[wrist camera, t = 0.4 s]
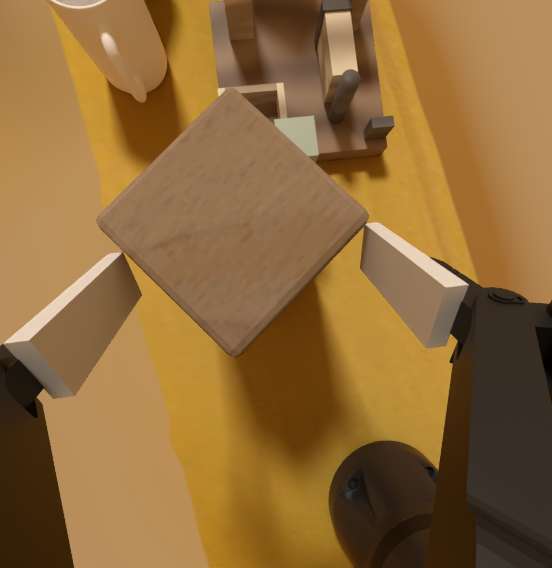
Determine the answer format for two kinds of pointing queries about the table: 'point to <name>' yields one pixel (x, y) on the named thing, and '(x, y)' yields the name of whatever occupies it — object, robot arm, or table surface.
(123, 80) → the cup
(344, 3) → the hinged leg
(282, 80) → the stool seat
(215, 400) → the table surface
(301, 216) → the wooden block
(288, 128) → the leg peg
